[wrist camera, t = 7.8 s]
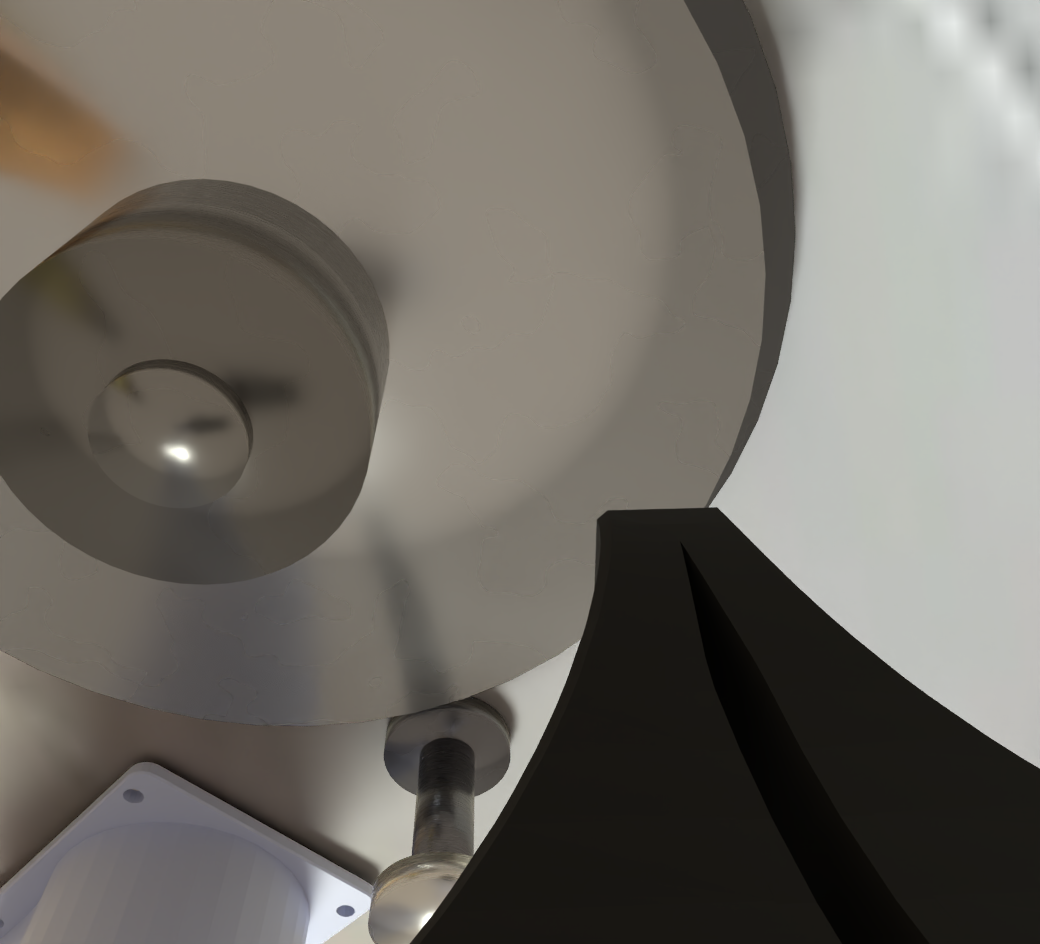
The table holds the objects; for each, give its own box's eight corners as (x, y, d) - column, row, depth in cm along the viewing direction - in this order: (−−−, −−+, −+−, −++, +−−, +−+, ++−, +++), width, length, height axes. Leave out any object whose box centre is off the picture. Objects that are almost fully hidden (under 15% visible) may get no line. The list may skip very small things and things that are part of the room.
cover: (254, 532, 19) (208, 657, 16) (-6, 341, 17) (-119, 441, 13) (456, 344, 17) (449, 443, 14) (192, 101, 15) (114, 153, 12)
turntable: (336, 789, 25) (310, 946, 21) (-429, 331, 18) (-669, 443, 14) (937, 304, 18) (1051, 405, 15) (112, -679, 12) (-65, -953, 8)
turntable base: (346, 799, 26) (344, 817, 25) (-466, 315, 19) (-492, 327, 18) (989, 286, 19) (1003, 296, 19) (111, -812, 12) (93, -846, 11)
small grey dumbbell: (452, 800, 26) (444, 989, 22) (360, 742, 25) (332, 930, 20) (535, 737, 25) (546, 923, 20) (443, 674, 24) (433, 855, 19)
